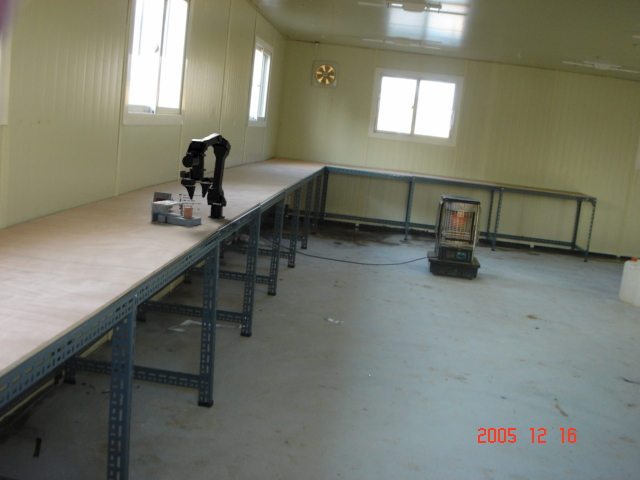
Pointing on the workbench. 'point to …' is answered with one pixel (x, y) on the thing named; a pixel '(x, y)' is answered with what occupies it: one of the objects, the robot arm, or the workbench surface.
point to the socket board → (179, 219)
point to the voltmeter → (168, 198)
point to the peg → (188, 212)
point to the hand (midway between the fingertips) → (197, 198)
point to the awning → (163, 208)
